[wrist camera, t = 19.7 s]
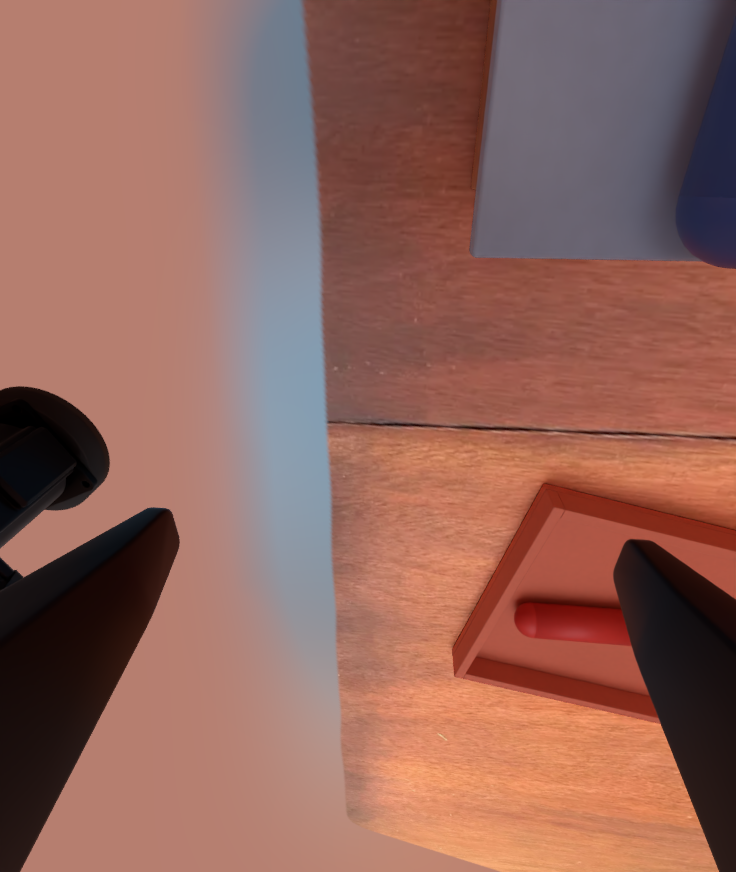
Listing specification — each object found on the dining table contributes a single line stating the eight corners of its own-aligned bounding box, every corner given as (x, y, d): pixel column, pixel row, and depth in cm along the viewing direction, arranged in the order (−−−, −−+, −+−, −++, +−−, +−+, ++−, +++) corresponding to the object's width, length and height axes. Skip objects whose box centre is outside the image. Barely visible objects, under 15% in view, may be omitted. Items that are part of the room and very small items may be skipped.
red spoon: (506, 625, 28) (512, 654, 27) (516, 582, 26) (523, 610, 25) (701, 641, 27) (720, 671, 26) (727, 597, 25) (750, 628, 24)
